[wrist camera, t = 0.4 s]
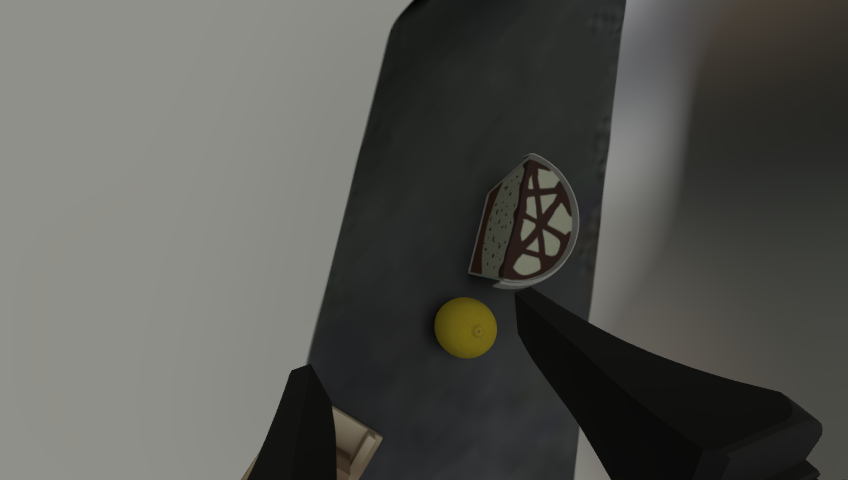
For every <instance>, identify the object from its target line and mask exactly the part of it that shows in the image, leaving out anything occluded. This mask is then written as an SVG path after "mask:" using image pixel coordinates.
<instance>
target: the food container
mask: <svg viewBox="0 0 848 480" xmlns="http://www.w3.org/2000/svg"><path fill="white" fill-rule="evenodd" d="M523 158H526V159H525V160H524V161H523V162H522V163H521V164H520V165H518V166H517V167H516V168H515V169H514V170H513V171H512V172H510V173H509V174H508V175H507V176H506V177H505V178H504V179H503V180H501V181H500V182H499V183H498V184H497V185H496V186H495V187H493V188H492V189H491V190H490V191H489V192H488V193H487V197H486V201H485V205H484V209H483V213H482V217H481V221H480V225H479V230H478V234H477V238H476V242H475V246H474V250H473V254H472V258H471V262H470V266H469V270H468V274H472V275H476V276H481V277H486V278H491V279H496V280H500V282H499V283H497V284H494V285H493V287H496V288H501V289H519V288H525V287H528V286H531V285H534V284H536V283H538V282H540V281H542V280H544V279H546V278H548V277H550V276H551V275H552V274H554V273H555V272H556V271H557V270H558V269H559V268H560V267H561V266H562V265H563V264H564V263H565V261H566V260H567V258H568V257H569V255H570V254H571V252H572V250H573V248H574V245H575V243H576V239H577V236H578V230H579V212H578V206H577V202H576V199H575V195H574V193H573V191H572V189H571V187H570V185H569V183H568V182H567V180H566V179H565V177H564V176H563V175H562V173H561V172H560V171H559V170H558V169H557V168H556V167H555V166H554V165H552V164H551V163H550V162H549V161H547V160H545V159H544V158H542V157H541V156H538V155H536V154H534V153H533V154H531V153H529V154H527V155H524V156H523Z"/></svg>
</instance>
